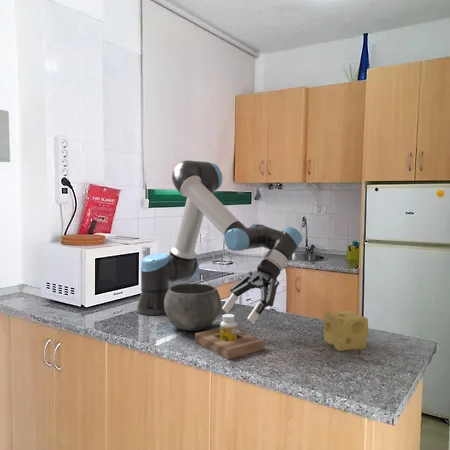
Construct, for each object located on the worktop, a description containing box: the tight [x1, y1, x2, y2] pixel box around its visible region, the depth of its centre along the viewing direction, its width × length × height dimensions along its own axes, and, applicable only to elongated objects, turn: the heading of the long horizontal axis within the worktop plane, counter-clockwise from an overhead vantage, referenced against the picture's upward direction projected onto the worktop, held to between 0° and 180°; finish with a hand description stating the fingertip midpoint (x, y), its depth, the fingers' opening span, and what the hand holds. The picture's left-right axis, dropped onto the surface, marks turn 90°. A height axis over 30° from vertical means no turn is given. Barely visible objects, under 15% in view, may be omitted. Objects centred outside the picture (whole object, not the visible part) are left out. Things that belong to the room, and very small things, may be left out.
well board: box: [194, 327, 264, 360], centre depth 137 cm, size 18×14×3 cm
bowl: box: [164, 283, 222, 332], centre depth 154 cm, size 20×20×15 cm
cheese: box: [323, 310, 369, 352], centre depth 138 cm, size 10×11×10 cm
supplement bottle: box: [219, 313, 238, 342], centre depth 136 cm, size 5×5×10 cm
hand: (236, 316), depth 137 cm, fingers open, 13 cm apart
